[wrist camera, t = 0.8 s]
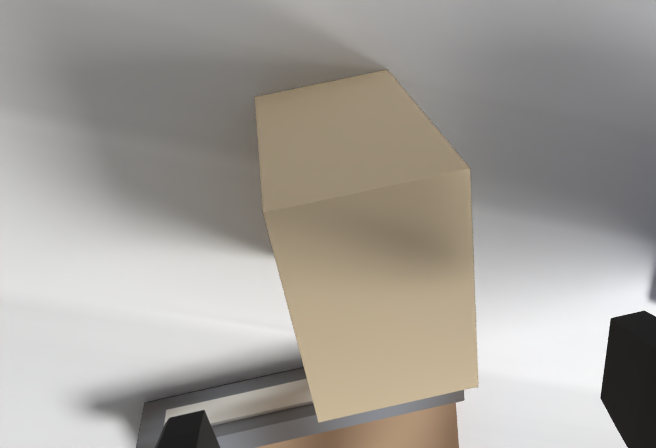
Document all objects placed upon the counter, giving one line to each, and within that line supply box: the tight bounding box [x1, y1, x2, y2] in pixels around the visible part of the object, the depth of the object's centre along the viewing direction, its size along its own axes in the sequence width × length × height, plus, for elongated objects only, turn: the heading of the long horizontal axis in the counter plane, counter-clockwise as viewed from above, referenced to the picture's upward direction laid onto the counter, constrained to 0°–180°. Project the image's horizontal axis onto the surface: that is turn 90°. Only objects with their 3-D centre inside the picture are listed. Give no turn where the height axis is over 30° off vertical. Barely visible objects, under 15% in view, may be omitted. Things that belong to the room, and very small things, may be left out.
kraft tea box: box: [255, 70, 478, 422], centre depth 15 cm, size 4×6×7 cm, turn 10°
